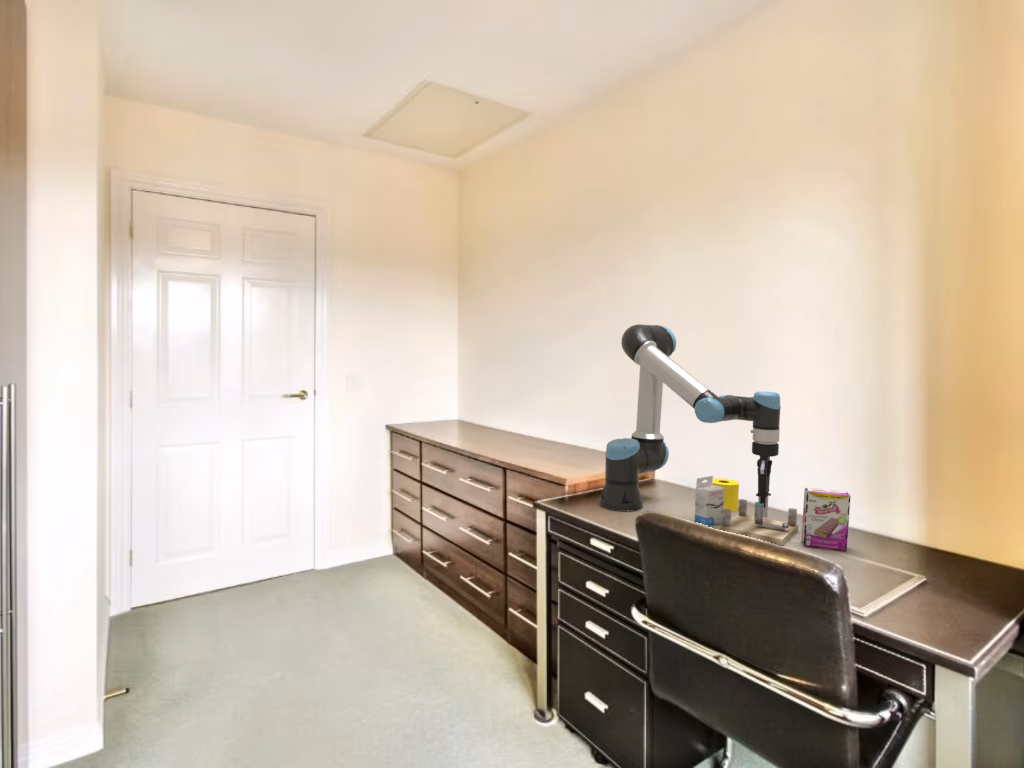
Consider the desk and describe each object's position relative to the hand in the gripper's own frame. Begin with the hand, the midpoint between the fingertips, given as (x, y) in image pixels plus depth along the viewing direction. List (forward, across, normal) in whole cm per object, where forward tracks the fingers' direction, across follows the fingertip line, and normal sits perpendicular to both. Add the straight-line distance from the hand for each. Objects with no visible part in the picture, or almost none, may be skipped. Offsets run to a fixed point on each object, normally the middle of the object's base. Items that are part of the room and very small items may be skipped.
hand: (762, 516), depth 174 cm
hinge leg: (+2, +3, +3) cm, 5 cm away
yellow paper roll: (+5, -20, -15) cm, 25 cm away
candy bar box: (+5, +6, +17) cm, 19 cm away
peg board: (+4, +2, -1) cm, 5 cm away
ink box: (+5, +2, -16) cm, 17 cm away
